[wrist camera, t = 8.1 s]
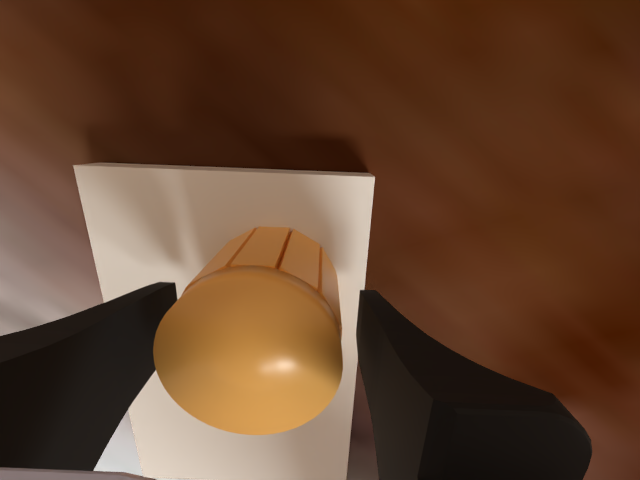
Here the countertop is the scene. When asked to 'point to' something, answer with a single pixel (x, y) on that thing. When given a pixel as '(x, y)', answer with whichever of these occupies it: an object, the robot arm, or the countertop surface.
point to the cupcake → (255, 335)
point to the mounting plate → (187, 262)
